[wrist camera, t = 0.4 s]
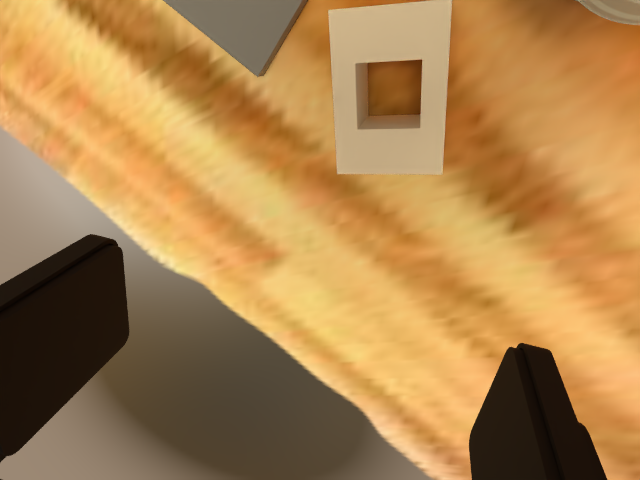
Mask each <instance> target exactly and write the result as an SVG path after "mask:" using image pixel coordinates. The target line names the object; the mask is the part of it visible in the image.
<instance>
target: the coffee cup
mask: <svg viewBox="0 0 640 480" xmlns="http://www.w3.org/2000/svg"><path fill="white" fill-rule="evenodd" d="M575 1H578V2H580V3H581V4H582V5H583V6H584V7H586V8H587V9H588V10H590V11H591V12H593V13H595V14H597V15H599V16H601V17H603V18H605V19H608V20H611V21H614V22H618V23H623V24H631V25H640V0H575Z"/></svg>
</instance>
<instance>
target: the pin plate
mask: <svg viewBox="0 0 640 480" xmlns="http://www.w3.org/2000/svg"><path fill="white" fill-rule="evenodd" d="M163 1H165V2H166V3H167V4H168V5H169V6H171V7H172V8H173V9H174V10H176V11H177V12H178V13H179V14H181V15H182V16H183V17H184V18H186V19H187V20H188V21H189V22H190V23H192V24H193V25H194V26H195V27H197V28H198V29H199V30H200V31H202V32H203V33H204V34H205V35H207V36H208V37H209V38H210V39H211V40H213V41H214V42H215V43H216V44H218V45H219V46H220V47H221V48H223V49H224V50H225V51H226V52H228V53H229V54H230V55H231V56H232V57H234V58H235V59H236V60H237V61H239V62H240V63H241V64H242V65H244V66H245V67H246V68H247V69H249V70H250V71H251V72H252V73H253V74H255V75H256V76H257V77H259V76H263V75H264V74H265V72H266V70H267V68H268V67H269V65H270V63H271V62H272V60H273V58H274V57H275V55H276V53H277V52H278V50H279V48H280V46H281V45H282V43H283V41H284V40H285V38H286V36H287V35H288V33H289V31H290V30H291V28H292V26H293V24H294V23H295V21H296V19H297V18H298V16H299V14H300V13H301V11H302V9H303V8H304V6H305V4H306V2H307V1H308V0H163Z"/></svg>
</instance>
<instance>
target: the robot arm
mask: <svg viewBox="0 0 640 480" xmlns="http://www.w3.org/2000/svg"><path fill="white" fill-rule="evenodd" d="M128 336H129V322H128V310H127V298H126V287H125V274H124V263H123V252H122V249H121V248H120V247H118V244H117V242H116V241H115V240H113V239H110V238H106V237H102V236H97V235H93V234H90V235H87V236H85V237H84V238H82V239H80V240H78V241H77V242H75V243H73V244H71V245H70V246H68V247H66V248H65V249H63V250H61V251H59V252H57V253H56V254H54V255H52V256H50V257H49V258H47V259H45V260H43V261H42V262H40V263H38V264H36V265H35V266H33V267H31V268H29V269H28V270H26V271H24V272H23V273H21V274H19V275H17V276H15V277H14V278H12V279H10V280H8V281H7V282H5V283H3V284H1V285H0V462H1V461H2V460H3V459H4V458H5V457H6V456H10V455H13V454H14V453H16V452H17V451H19V450H20V449H21V448H22V447H23V446H24V445H25V444H26V443H27V442H28V441H29V440H30V439H31V438H32V437H33V436H34V435H35V434H36V433H37V432H38V431H39V430H40V429H41V428H42V427H43V426H44V425H45V424H46V423H47V422H48V421H49V420H50V419H51V418H52V417H53V416H54V415H55V414H56V413H57V412H58V411H59V410H60V409H61V408H62V407H63V406H64V405H65V404H66V403H67V402H68V401H69V400H70V399H71V398H72V397H73V396H74V395H75V394H76V393H77V392H78V391H79V390H80V389H81V388H82V387H83V386H84V385H85V384H86V383H87V382H88V380H90V379H91V378H92V377H93V376H94V375H95V374H96V373H97V372H98V371H99V370H100V369H101V368H102V367H103V366H104V365H105V364H106V363H107V362H108V361H109V360H110V359H111V358H112V357H113V356H114V355H115V354H116V353H117V352H118V351H119V350H120V349H121V348H122V347H123V346H124V345H125V343H126V341H127V339H128ZM469 452H470V463H471V474H472V480H607V478H606V475H605V473H604V470H603V467H602V465H601V462H600V460H599V457H598V455H597V452H596V450H595V447H594V445H593V442H592V440H591V437H590V435H589V433H588V431H587V429H586V427H585V426H584V425H582V424H581V423H579V422H578V421H577V418H576V415H575V413H574V410H573V408H572V405H571V402H570V400H569V397H568V394H567V392H566V389H565V387H564V384H563V381H562V379H561V376H560V373H559V371H558V368H557V365H556V363H555V360H554V358H553V355H552V353H551V351H550V350H548V349H544V348H540V347H536V346H532V345H528V344H524V343H520V344H519V345H518V346H517V348H513V347H509V348H508V349H507V351H506V353H505V355H504V358H503V360H502V362H501V364H500V367H499V369H498V371H497V374H496V376H495V378H494V380H493V383H492V385H491V387H490V389H489V392H488V394H487V396H486V398H485V401H484V403H483V405H482V408H481V410H480V412H479V414H478V417H477V419H476V421H475V423H474V426H473V428H472V430H471V434H470V439H469ZM0 480H2V479H0Z"/></svg>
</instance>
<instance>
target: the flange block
mask: <svg viewBox="0 0 640 480" xmlns="http://www.w3.org/2000/svg"><path fill="white" fill-rule="evenodd" d="M451 13H452V0H431V1H420V2H410V3H399V4H388V5H377V6H367V7H356V8H345V9H334V10H328V14H329V33H330V51H331V70H332V88H333V106H334V125H335V143H336V162H337V174H412V175H442V174H443V156H444V138H445V120H446V102H447V84H448V66H449V49H450V31H451ZM421 59H422V87H421V114H414V115H378V116H369V110H368V63H371V62H388V61H404V60H421Z"/></svg>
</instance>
